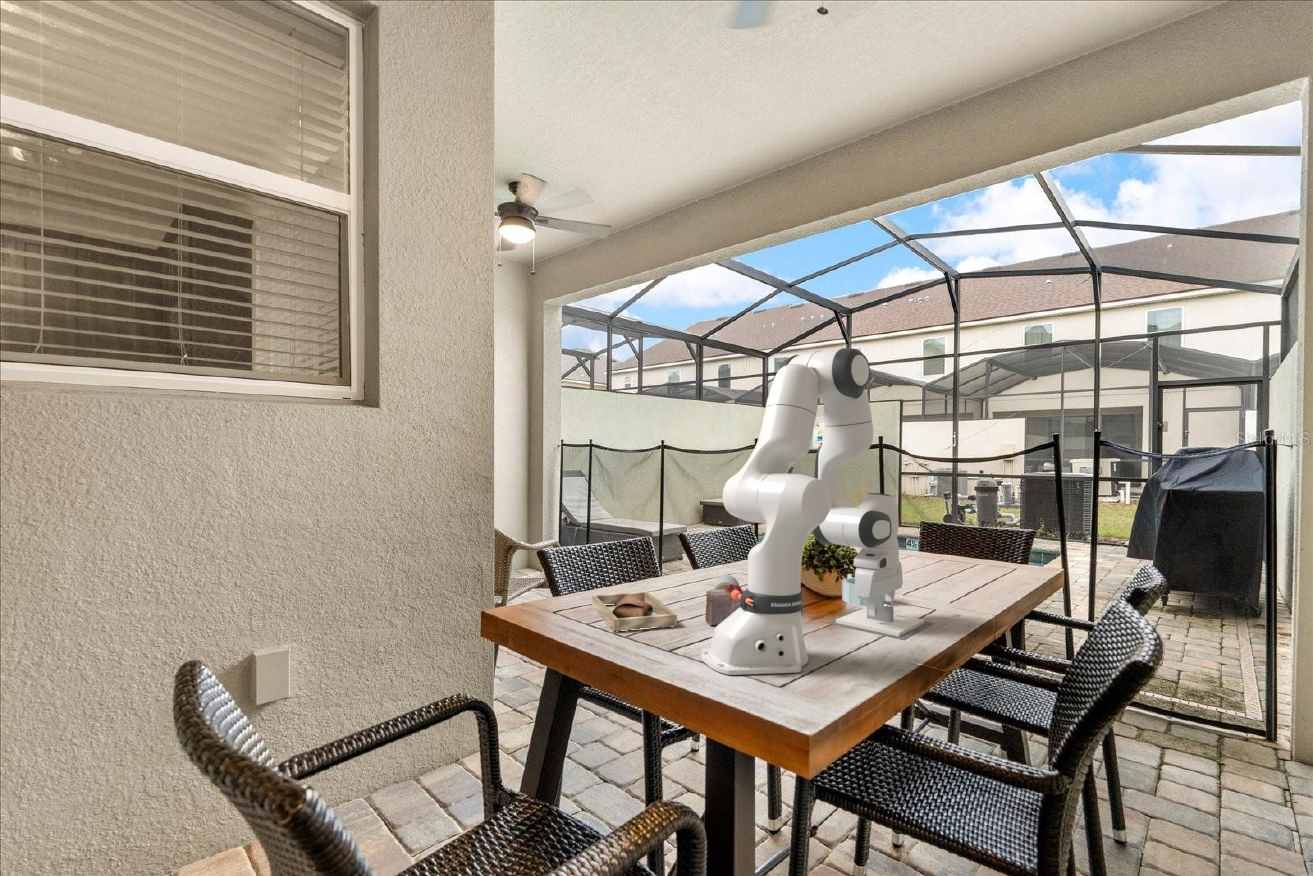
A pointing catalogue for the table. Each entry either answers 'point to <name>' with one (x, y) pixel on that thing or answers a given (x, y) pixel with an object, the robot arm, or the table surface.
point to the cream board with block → (881, 621)
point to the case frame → (618, 624)
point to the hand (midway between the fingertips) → (880, 611)
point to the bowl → (850, 593)
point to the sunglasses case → (631, 607)
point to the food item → (721, 604)
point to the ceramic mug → (724, 582)
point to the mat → (902, 637)
